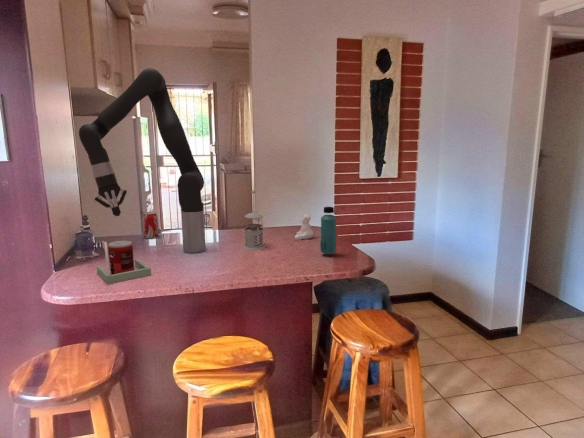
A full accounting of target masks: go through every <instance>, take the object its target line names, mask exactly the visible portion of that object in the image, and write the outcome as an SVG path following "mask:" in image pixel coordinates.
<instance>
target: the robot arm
mask: <svg viewBox="0 0 584 438" xmlns="http://www.w3.org/2000/svg"><path fill="white" fill-rule="evenodd" d="M147 96H148V99H149V101H150V102H151V104H152V107H153V110H154V113H155V114H154V115H155V119H156V123H157V127H158V131H159V134H160V136H161V139H162V142H163V144H164V146H165V148H166V149H167V151H168V152H169V154H170V155H171V157H172V158H173V159H174V161H175V162H176V164H177V166H178V170H179V172H180V176H179V178H178V180H177V194H178V195H177V196H178V203H179V206H180V214H181V234H182V236H181V237H182V249H183V252H184V253H187V254H196V253H198V254H199V253H202V252H206V248H207V247H206V230H205V229H206V227H205V213H204V211H205V209H204V208H205V207H204V203H203V201H202V192H201V191H202V190H203V188H204V187H205V179H204V177H203V174H202V173H201V171H200V169H199V167H198V165H197V163H196V161H195V159H194V156H193V153H192V150H191V147H190V144H189V141H188V139H187V135H186V132H185V130H184V128H183V125H182V122H181V120H180V118H179V115H178V114H177V111H176V110H175V108H174V106H173V104H172V101H171V98H170V95H169V89H168V88H167V83H166V80H165V77H164V76H163V75H162V74H161V72H159V71H158V70H157V69H156V68H151V67H149V68H146V69H145V68H144V69H143V70H141V72H140V73H139V74H138V75H137V77H136V78H135V79H134V80H133V82H132V83H131V84H130V85H129V86H128V87H127V88H126V89H125V91H123V92H122V93H121V94H120V95H119V96H118V97H117V98H116V99H114V101H112V102H111V103H110V104H109V105H108V106H106V107H105V108H103V110H102V111H100V112H99V113H98V115H97V118H96V119H95V120H93V121H92V122H91V123H87V124H83V125H81V126H80V128H79V130H78V135H79V137H78V138H79V140H80V142H81V144H82V146H83V148H84V150H85V152H86V153H87V157H88V159H89V164H90V165H91V170H92V175H93V177H94V179H95V180H94V181H95V183H96V185H97V193H98V195H96V196H95V198H94V200H95V201H96V202H97V203H99V204H100V205H102V206H103V207H104V208H110V209H111V212H112V214H113V216H115V217H120V216H121V215H120V214H121V213H122V212H121V208H120V206H121V205H122V204H123V202H124V200H125V197H126V195H127V193H128V191H127V189H123V188H121V186H120V185H119V183H118V181H117V177H116V174H115V171H114V168H113V166H112V164H111V161H110V158H109V155H108V151H107V150H106V149H105V148H104V146H103V145H102V142H101V141H102V140H103V139H104V138H105V137H106V136H107V135H108V134H109V132H110V131H111V130H112V129H113V128H114V127H116V126H117V125H118V124H120V123H121V121H123V120H124V119H126V117H127V116H128V115H129V113H130V112H131V111H132V110H133V109H134V107H135V106H136V105H138V103H139V102H140V101H142V100H144V98H146V97H147ZM119 195H121V196H120V199H119V201H118V197H119ZM103 199H104V200H107V202H106V201H104V200H103Z"/></svg>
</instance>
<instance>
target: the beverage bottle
mask: <svg viewBox="0 0 584 438" xmlns="http://www.w3.org/2000/svg"><path fill="white" fill-rule="evenodd" d="M323 213H324V215H322V216H321V217H320V252H321V253H322V254H327V255H330V254H335V253H336V252H337V217H336V215H334V214H333V213H335V209H334V207H333V206H325V207H323Z"/></svg>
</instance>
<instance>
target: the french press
mask: <svg viewBox="0 0 584 438" xmlns="http://www.w3.org/2000/svg"><path fill="white" fill-rule="evenodd" d="M250 193H251V194H252V204H253V205H252V207H253V209H252V212H249V213H246V214H245V215H244V218H245V220H246V219H247V220H255V221H256V222H258V223H249V224H245V227H246V228H244V234H245V235H244V239H245V242H244V243H245V245H243V248H242V249H244V250H246V251H259V250H263V249H266V245H265V244H264V236H263V234H264V227H263V226H264V225H263V217H264V215H263V214H261V213H258V212H255V210H254V209H255V207H254V206H255V205H254V203H255V202H254V194H256V190H251V191H250ZM260 220H261V224H260Z"/></svg>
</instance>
